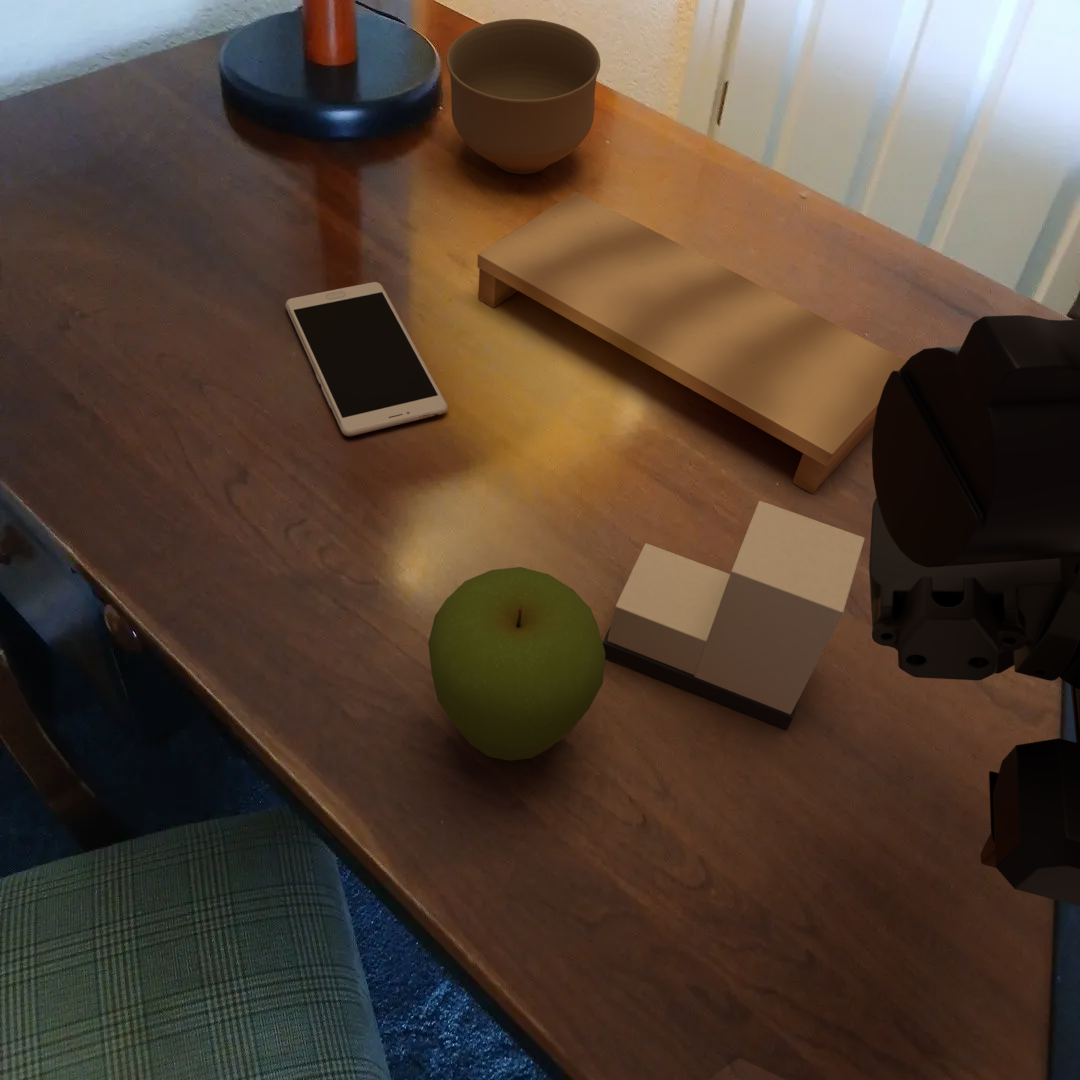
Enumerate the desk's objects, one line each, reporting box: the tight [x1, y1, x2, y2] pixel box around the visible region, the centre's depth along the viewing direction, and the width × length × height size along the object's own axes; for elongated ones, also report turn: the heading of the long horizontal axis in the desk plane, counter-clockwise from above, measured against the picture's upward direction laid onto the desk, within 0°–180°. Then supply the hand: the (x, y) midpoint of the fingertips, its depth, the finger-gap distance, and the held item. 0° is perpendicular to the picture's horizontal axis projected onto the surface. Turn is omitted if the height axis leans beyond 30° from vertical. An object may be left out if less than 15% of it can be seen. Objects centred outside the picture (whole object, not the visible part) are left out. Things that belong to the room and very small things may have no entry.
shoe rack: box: [476, 190, 908, 495], centre depth 77 cm, size 30×12×4 cm, turn 51°
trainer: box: [602, 500, 866, 731], centre depth 57 cm, size 11×5×11 cm, turn 67°
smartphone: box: [285, 281, 449, 437], centre depth 75 cm, size 8×1×15 cm
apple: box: [427, 566, 606, 762], centre depth 52 cm, size 9×8×12 cm
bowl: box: [445, 18, 601, 175], centre depth 89 cm, size 13×13×10 cm
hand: (989, 759), depth 43 cm, fingers open, 9 cm apart
